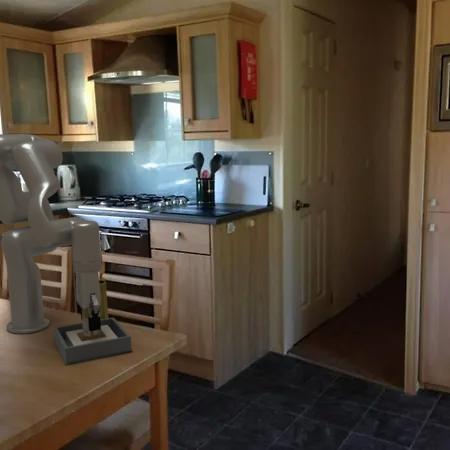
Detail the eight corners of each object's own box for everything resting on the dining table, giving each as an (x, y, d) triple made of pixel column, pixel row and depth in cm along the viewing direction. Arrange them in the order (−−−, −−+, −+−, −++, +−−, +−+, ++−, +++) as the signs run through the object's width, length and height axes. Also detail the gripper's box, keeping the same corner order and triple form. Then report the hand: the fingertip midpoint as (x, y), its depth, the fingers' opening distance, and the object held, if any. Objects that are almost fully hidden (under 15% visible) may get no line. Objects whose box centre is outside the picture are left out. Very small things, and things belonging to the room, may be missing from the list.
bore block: (66, 341, 156) (65, 331, 155) (107, 334, 161) (107, 324, 160) (74, 356, 145) (74, 346, 145) (118, 348, 150) (118, 338, 150)
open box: (54, 342, 157) (53, 327, 156) (114, 331, 165) (113, 317, 164) (66, 365, 142) (65, 348, 141) (131, 352, 149) (130, 336, 148)
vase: (111, 322, 173) (109, 279, 170) (105, 329, 167) (103, 284, 164) (93, 322, 173) (90, 279, 171) (86, 329, 167) (84, 284, 165)
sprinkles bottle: (102, 345, 153) (99, 299, 150) (86, 349, 150) (83, 302, 148) (96, 340, 156) (94, 295, 154) (81, 343, 154) (78, 298, 152)
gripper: (67, 260, 155) (71, 317, 158) (80, 274, 140) (84, 337, 143) (93, 257, 158) (96, 313, 161) (108, 270, 143) (112, 332, 146)
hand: (90, 324), depth 152 cm, fingers open, 9 cm apart
